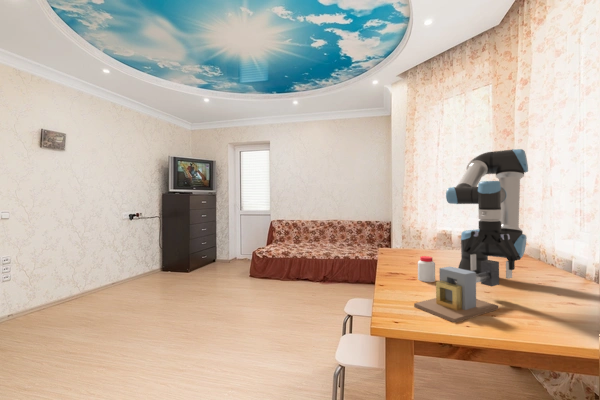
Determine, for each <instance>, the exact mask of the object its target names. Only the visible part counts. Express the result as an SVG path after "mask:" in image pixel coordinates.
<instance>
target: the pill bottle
mask: <svg viewBox="0 0 600 400" xmlns="http://www.w3.org/2000/svg"><path fill="white" fill-rule="evenodd" d="M417 280H418V281H420V282H424V283H433V282H436V262H435V261H434V260H433V257H432V256H429V255H428V256H427V255H422V256H420V257H419V260H418V261H417Z"/></svg>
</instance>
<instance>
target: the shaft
mask: <svg viewBox="0 0 600 400" xmlns="http://www.w3.org/2000/svg"><path fill="white" fill-rule="evenodd" d="M477 283H480V284H481V285H483V286H487V287H495V286H499V285H500V261H497V260H492V259H488V260H485V261H481V273H479V274H476V284H477ZM452 284H456V285H457V279H452Z"/></svg>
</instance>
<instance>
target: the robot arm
mask: <svg viewBox="0 0 600 400" xmlns="http://www.w3.org/2000/svg"><path fill="white" fill-rule="evenodd" d="M528 172H529V164H528V159H527V153H526V151H525V149H522V148H516V149H515V148H511V149H505V150H495V151H494V150H493V151H487V152H483V153H481V154H479V155H478V156H475V157H474V158H473V159H471V160H470V161H469V163H467V165H466V171H465V173H464V174H463V175H462V177H461V178H460V180H459V181H458V183H457V185H456V186H452V187H448V188H447V189H446V192H445V199H446V201H447V202H446V203H448V204H450V205H451V204H452V205H453V204H454V205H478V209H477V210H478V219H479V220H478V229H468V230H463V231H462V232H461V235H460V236H461V237H460V245H461V246H460V249H461V253H460V254H461V256H460V257H461V259H460V262H459V264H458V267H457V268H459V269H464V270H469V271H473V272H476V274H479V273H481V261H485V260H489V257H494V258H501V259H502V258H503V259H504V258H505V259H507V260H506V261H505V279H507V280H508V279H509V280H510V279H512V278H513V271H514V270H515V267H516V266H515V265H516V264H515V262H516V261H520V260H521V259H522V258H523V256H524V254H525V252H526V251H525V250H526V245H527V235H526V234H524V233H523V230H522V229H521V228H520V227H519V226H520V225H519V224H520V199H521V198H520V197H521V196H520V195H521V192H520V191H521V179H522V178H524V177H525V173H528ZM486 175H495V178H497V179H498V180H485V181H483V180H482V178H483V177H484V176H486ZM481 180H482V181H481Z"/></svg>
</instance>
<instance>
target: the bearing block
mask: <svg viewBox="0 0 600 400" xmlns="http://www.w3.org/2000/svg"><path fill="white" fill-rule="evenodd" d="M452 279H457V285H460V286H462V309H461V310H458V311H456V310H453V309H450V308H447V307H445V306H442V305H439V304H436V297H434V298H431V299H425V300H422V301H419V302H414V303H413V306H414V308H416V309H419V310H422V311H425V312H426V313H430V314H432V315H434V316H437V317H439V318H442V319H444V320H447V321H449V322H452V323H455V324H456V323H458V322H462V321H464V320H468V319H471V318H474V317H478V316H481V315H484V314H486V313H490V312H494V311H496V310H499V305H498V304H495V303H491V302H488V301H484V300H481V299H477V283H476V272H473V271H469V270H464V269H459V268H458V267H454V266H446V267H445V266H444V267H440V268H439V281H445V282H449V283H452ZM445 299H446V300H449V301H452V290H449V289H445ZM452 302H453V301H452Z"/></svg>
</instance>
